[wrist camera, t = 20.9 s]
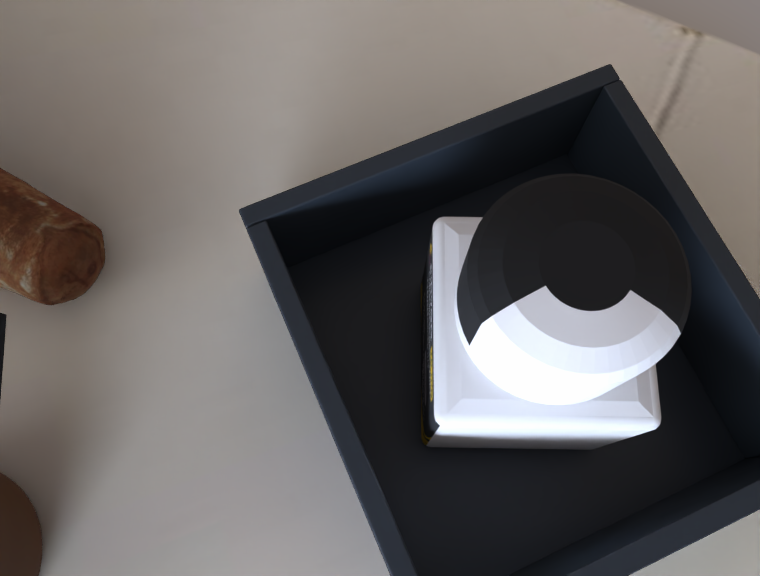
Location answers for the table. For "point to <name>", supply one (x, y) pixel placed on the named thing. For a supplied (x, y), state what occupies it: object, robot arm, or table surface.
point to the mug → (18, 532)
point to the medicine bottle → (549, 318)
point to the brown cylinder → (45, 245)
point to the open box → (403, 351)
